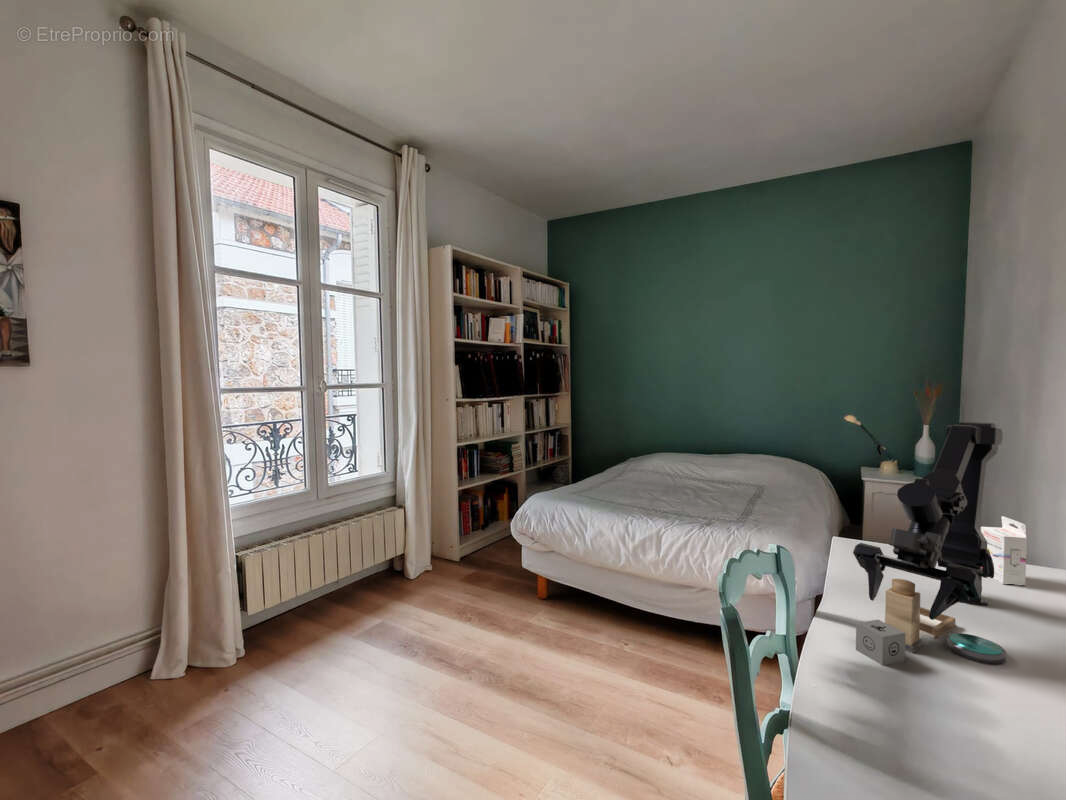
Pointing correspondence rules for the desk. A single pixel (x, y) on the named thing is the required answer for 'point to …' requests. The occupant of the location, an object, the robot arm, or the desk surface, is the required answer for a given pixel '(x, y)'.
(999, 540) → the ink cartridge box
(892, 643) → the dice cube
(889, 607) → the stamp
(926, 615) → the frame
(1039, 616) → the desk surface
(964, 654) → the pad
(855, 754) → the desk surface
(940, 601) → the robot arm
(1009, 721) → the desk surface
